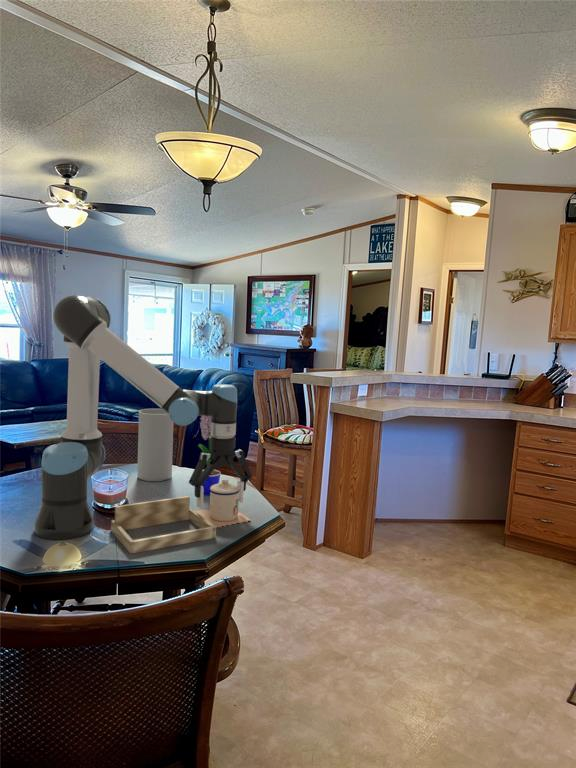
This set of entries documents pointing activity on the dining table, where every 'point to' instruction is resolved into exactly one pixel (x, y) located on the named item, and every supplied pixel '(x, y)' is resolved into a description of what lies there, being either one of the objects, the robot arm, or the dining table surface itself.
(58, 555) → the dining table surface
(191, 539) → the frame
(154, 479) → the cylinder vase
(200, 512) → the terracotta tile
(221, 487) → the teacup with lid
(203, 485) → the hyacinth
